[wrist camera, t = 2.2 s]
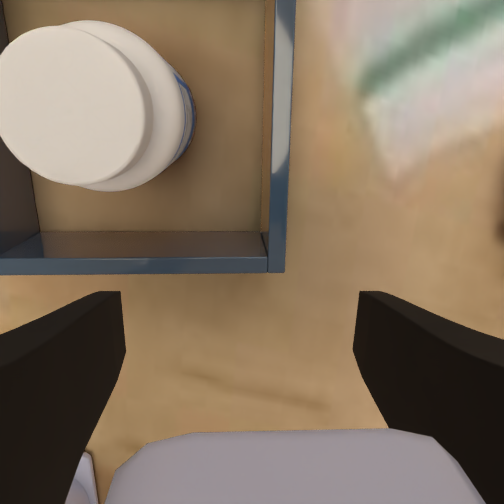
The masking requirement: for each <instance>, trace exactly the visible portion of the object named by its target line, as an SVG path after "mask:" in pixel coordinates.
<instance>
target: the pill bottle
mask: <svg viewBox="0 0 504 504" xmlns="http://www.w3.org/2000/svg"><path fill="white" fill-rule="evenodd" d="M195 126H196V108H195V104H194V100H193V97H192V94H191V92H190V89H189V87H188V85H187V84H186V83H185V81H184V80H183V78H182V77H181V76H180V75H179V73H178V72H177V71H176V70H175V69H174V68H173V67H172V66H171V65H170V64H169V63H168V62H166V61H165V60H164V59H163V58H162V57H161V56H160V55H159V54H158V53H157V52H156V50H155V49H153V48H152V47H151V46H150V45H149V44H148V43H147V42H145V41H144V40H143V39H142V38H140V37H139V36H137V35H136V34H134V33H132V32H130V31H129V30H127V29H125V28H123V27H120V26H117V25H114V24H111V23H107V22H102V21H93V20H83V21H74V22H70V23H66V24H63V25H60V26H47V27H41V28H37V29H34V30H31V31H28V32H26V33H24V34H22V35H21V36H19V37H17V38H16V39H15V40H14V41H12V42H11V43H10V44H9V45H8V46H7V47H6V48H5V49H4V51H3V52H2V54H1V55H0V136H1V138H2V139H3V141H4V143H5V144H6V146H7V147H8V148H9V150H10V151H11V152H12V153H13V154H14V156H15V157H16V158H17V159H18V160H19V161H20V162H21V163H22V164H24V165H25V166H27V167H28V168H29V169H30V170H32V171H34V172H35V173H37V174H39V175H40V176H42V177H44V178H46V179H49V180H52V181H55V182H58V183H62V184H67V185H76V186H80V187H83V188H86V189H90V190H95V191H104V192H114V191H123V190H128V189H132V188H135V187H138V186H140V185H142V184H144V183H146V182H148V181H149V180H151V179H153V178H154V177H156V176H157V175H159V174H160V173H161V172H162V171H163V170H165V169H166V168H167V167H168V166H169V165H171V164H172V163H173V162H174V161H176V160H177V159H178V158H179V157H180V156H181V155H182V154H183V153H184V152H185V151H186V149H187V148H188V146H189V145H190V143H191V141H192V139H193V136H194V131H195Z"/></svg>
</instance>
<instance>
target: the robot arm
mask: <svg viewBox="0 0 504 504" xmlns="http://www.w3.org/2000/svg"><path fill="white" fill-rule="evenodd" d="M353 352H354V355H355V358H356V361H357V364H358V367H359V370H360V373H361V375H362V378H363V380H364V382H365V384H366V386H367V387H368V389H369V391H370V393H371V395H372V397H373V399H374V401H375V403H376V405H377V407H378V408H379V410H380V412H381V414H382V416H383V418H384V420H385V422H386V423H387V425H388V427H389V428H386V429H339V430H292V431H245V432H197V433H189V434H185V435H181V436H176V437H172V438H168V439H164V440H160V441H155V442H151V443H147V444H146V445H145V446H143V447H142V448H141V449H140V450H139V451H138V452H136V453H135V454H134V455H133V456H132V457H131V458H129V459H128V460H127V461H126V462H125V463H124V464H122V465H121V466H120V467H119V468H118V469H117V470H116V471H115V474H114V477H113V480H112V483H111V486H110V489H109V492H108V495H107V498H106V501H105V504H504V340H503V339H500V338H497V337H493V336H490V335H487V334H484V333H481V332H478V331H476V330H473V329H470V328H468V327H465V326H463V325H460V324H458V323H455V322H452V321H450V320H448V319H445V318H443V317H441V316H438V315H436V314H434V313H431V312H429V311H427V310H425V309H422V308H420V307H418V306H416V305H414V304H411V303H409V302H407V301H405V300H403V299H400V298H398V297H395V296H393V295H390V294H388V293H385V292H381V291H360V293H359V301H358V309H357V318H356V326H355V334H354V342H353ZM125 353H126V346H125V336H124V325H123V314H122V303H121V292H120V291H99V292H95V293H92V294H90V295H87V296H85V297H83V298H81V299H78V300H76V301H74V302H72V303H70V304H68V305H66V306H64V307H62V308H60V309H58V310H56V311H54V312H52V313H49V314H47V315H45V316H43V317H41V318H38V319H36V320H34V321H32V322H29V323H27V324H25V325H22V326H20V327H18V328H16V329H13V330H11V331H8V332H6V333H3V334H1V335H0V504H98V497H97V490H96V484H95V477H94V471H93V464H92V458H91V455H90V454H88V453H86V452H84V450H85V448H86V446H87V444H88V441H89V439H90V437H91V435H92V433H93V431H94V429H95V427H96V425H97V423H98V420H99V418H100V416H101V414H102V412H103V410H104V408H105V406H106V404H107V402H108V399H109V397H110V395H111V393H112V391H113V389H114V387H115V384H116V382H117V380H118V377H119V374H120V370H121V367H122V364H123V360H124V357H125Z"/></svg>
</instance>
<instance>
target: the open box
mask: <svg viewBox="0 0 504 504" xmlns="http://www.w3.org/2000/svg"><path fill="white" fill-rule="evenodd" d="M295 17H296V0H265V39H264V90H263V141H262V191H261V232H260V231H210V232H40V230H39V224H38V218H37V211H36V205H35V199H34V193H33V187H32V181H31V175H30V169H29V168H28V167H27V166H25V165H24V164H22V163H21V162H20V161H19V160H18V159H17V158H16V157H15V156H14V154H13V153H12V152H11V151H10V150H9V148H8V147H7V146H6V144H5V143H4V141H3V139H2V138H1V136H0V275H96V274H219V273H267V272H268V273H284V272H285V258H286V234H287V210H288V186H289V162H290V138H291V114H292V89H293V65H294V41H295ZM8 45H9V43H8V37H7V31H6V25H5V19H4V13H3V7H2V1H1V0H0V55H1V54H2V52H3V51H4V49H5V48H6V47H7V46H8Z"/></svg>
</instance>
